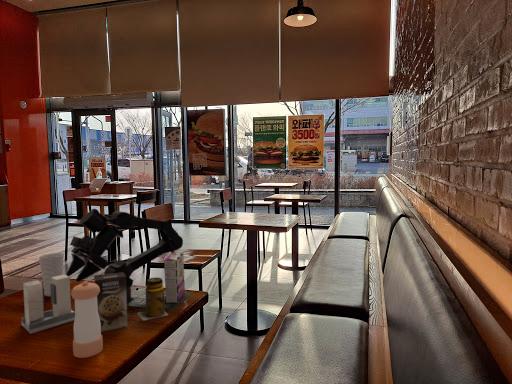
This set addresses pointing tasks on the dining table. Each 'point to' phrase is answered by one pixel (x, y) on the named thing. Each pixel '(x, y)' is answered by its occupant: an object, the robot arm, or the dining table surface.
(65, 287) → the finger
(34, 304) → the grey and white holder
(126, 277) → the robot arm
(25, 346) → the dining table surface
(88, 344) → the pepper shaker
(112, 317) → the coffee box
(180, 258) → the candy bar box
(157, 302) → the condiment
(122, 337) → the dining table surface
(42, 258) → the cup
